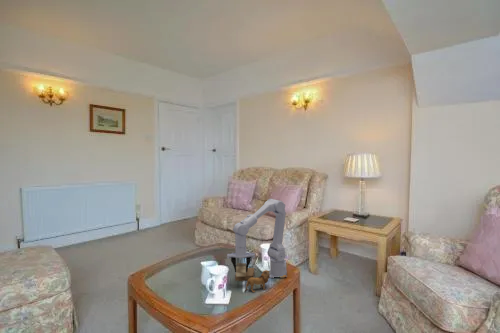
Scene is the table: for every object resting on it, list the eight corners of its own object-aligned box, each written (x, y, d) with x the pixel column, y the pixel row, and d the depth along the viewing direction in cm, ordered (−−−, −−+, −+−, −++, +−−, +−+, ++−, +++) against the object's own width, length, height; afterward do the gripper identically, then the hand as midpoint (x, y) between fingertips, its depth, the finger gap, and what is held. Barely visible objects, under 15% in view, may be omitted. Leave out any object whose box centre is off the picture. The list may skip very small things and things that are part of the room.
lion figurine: (266, 284, 141) (266, 267, 141) (272, 288, 136) (271, 271, 136) (242, 290, 134) (242, 273, 134) (246, 295, 130) (246, 277, 129)
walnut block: (254, 273, 155) (254, 268, 154) (253, 281, 145) (253, 275, 144) (237, 273, 155) (237, 267, 155) (235, 281, 145) (235, 275, 145)
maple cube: (246, 272, 141) (246, 263, 141) (245, 276, 136) (245, 267, 136) (236, 272, 141) (236, 263, 141) (236, 276, 136) (236, 267, 136)
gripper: (254, 243, 143) (254, 267, 143) (227, 243, 142) (227, 268, 142) (254, 247, 135) (255, 273, 136) (226, 248, 135) (227, 274, 135)
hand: (241, 271), depth 139 cm, fingers closed on maple cube, 5 cm apart
